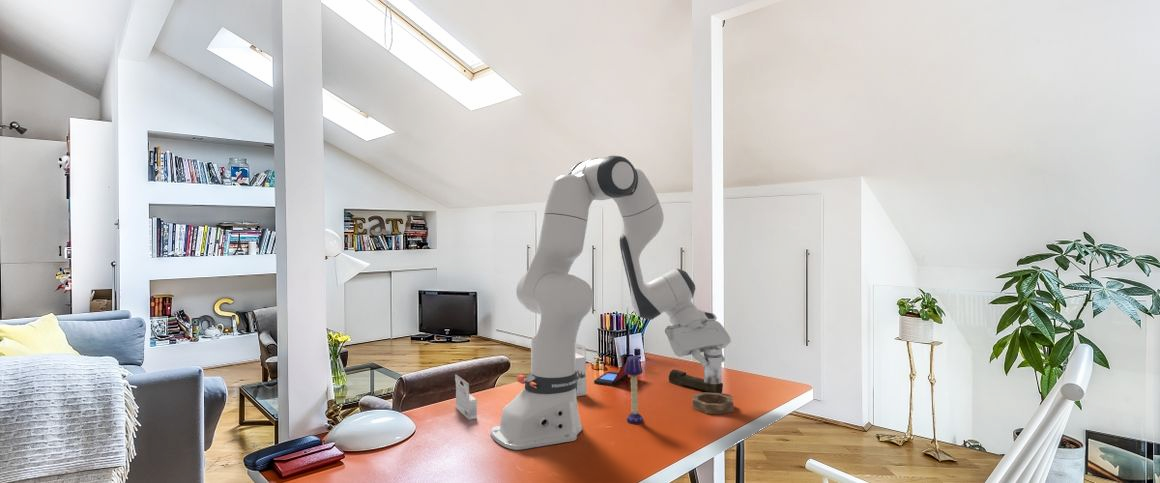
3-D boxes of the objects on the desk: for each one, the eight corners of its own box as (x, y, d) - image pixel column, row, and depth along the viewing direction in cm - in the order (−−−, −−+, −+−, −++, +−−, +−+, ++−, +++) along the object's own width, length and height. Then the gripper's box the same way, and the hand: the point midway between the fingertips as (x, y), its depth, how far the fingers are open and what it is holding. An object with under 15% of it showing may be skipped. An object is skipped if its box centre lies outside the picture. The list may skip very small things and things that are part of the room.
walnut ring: (713, 416, 138) (713, 407, 138) (684, 405, 147) (684, 397, 147) (740, 409, 144) (741, 400, 144) (711, 398, 153) (711, 390, 153)
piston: (713, 385, 142) (713, 352, 142) (700, 380, 146) (699, 349, 146) (725, 382, 145) (725, 349, 144) (712, 378, 149) (712, 346, 149)
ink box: (560, 389, 162) (559, 342, 162) (574, 387, 164) (574, 341, 164) (571, 397, 154) (571, 348, 154) (586, 395, 156) (586, 346, 156)
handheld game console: (608, 374, 180) (608, 353, 180) (637, 378, 175) (637, 356, 175) (592, 384, 169) (592, 361, 169) (623, 388, 164) (623, 365, 164)
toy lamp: (637, 425, 132) (637, 360, 131) (621, 422, 134) (621, 357, 134) (645, 419, 136) (645, 356, 135) (629, 416, 138) (629, 354, 138)
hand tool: (724, 394, 158) (724, 378, 158) (716, 396, 155) (716, 381, 155) (674, 381, 172) (674, 367, 172) (666, 383, 169) (666, 369, 169)
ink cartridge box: (463, 406, 147) (463, 372, 146) (477, 418, 137) (477, 382, 137) (454, 408, 145) (454, 373, 145) (468, 420, 136) (468, 383, 136)
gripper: (667, 320, 145) (693, 362, 137) (718, 313, 156) (745, 351, 148) (657, 333, 149) (681, 375, 141) (707, 325, 160) (732, 364, 152)
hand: (714, 363), depth 145 cm, fingers closed on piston, 5 cm apart
